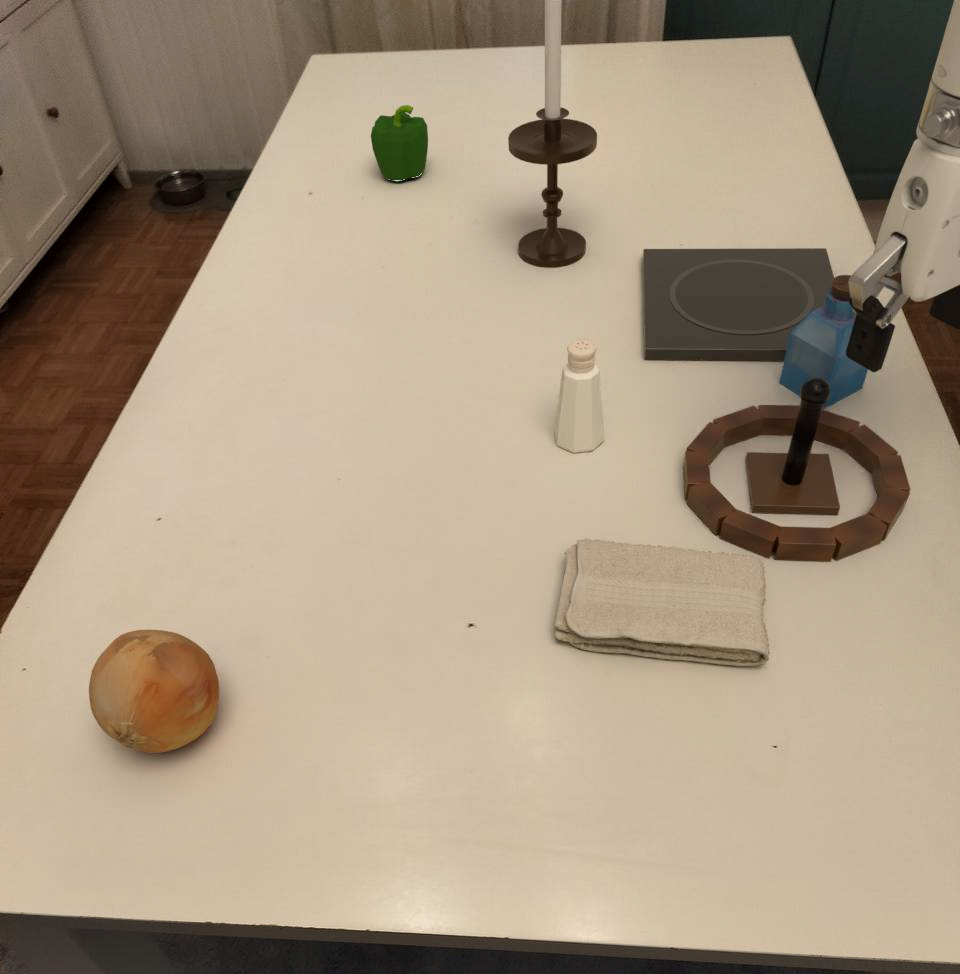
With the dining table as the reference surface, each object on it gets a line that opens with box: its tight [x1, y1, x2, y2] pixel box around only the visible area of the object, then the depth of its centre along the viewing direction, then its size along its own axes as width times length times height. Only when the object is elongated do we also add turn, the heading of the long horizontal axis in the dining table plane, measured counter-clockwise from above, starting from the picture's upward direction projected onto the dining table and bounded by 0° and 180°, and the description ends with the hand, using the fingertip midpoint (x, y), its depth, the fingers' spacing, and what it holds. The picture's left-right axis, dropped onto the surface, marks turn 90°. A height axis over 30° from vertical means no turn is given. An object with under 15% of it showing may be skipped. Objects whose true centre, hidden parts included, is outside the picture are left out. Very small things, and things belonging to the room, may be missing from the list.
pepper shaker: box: [553, 338, 605, 454], centre depth 92 cm, size 5×5×11 cm
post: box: [745, 377, 841, 516], centre depth 85 cm, size 8×8×12 cm
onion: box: [88, 629, 220, 754], centre depth 72 cm, size 10×10×10 cm
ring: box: [682, 404, 911, 563], centre depth 89 cm, size 21×21×2 cm
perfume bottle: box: [778, 274, 869, 410], centre depth 96 cm, size 6×6×12 cm
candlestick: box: [507, 0, 598, 268], centre depth 109 cm, size 11×11×35 cm
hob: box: [642, 247, 835, 362], centre depth 110 cm, size 23×23×2 cm
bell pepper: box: [370, 104, 429, 180], centre depth 136 cm, size 8×8×10 cm
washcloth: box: [554, 538, 770, 667], centre depth 79 cm, size 12×18×3 cm, turn 80°
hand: (905, 342), depth 74 cm, fingers open, 9 cm apart
